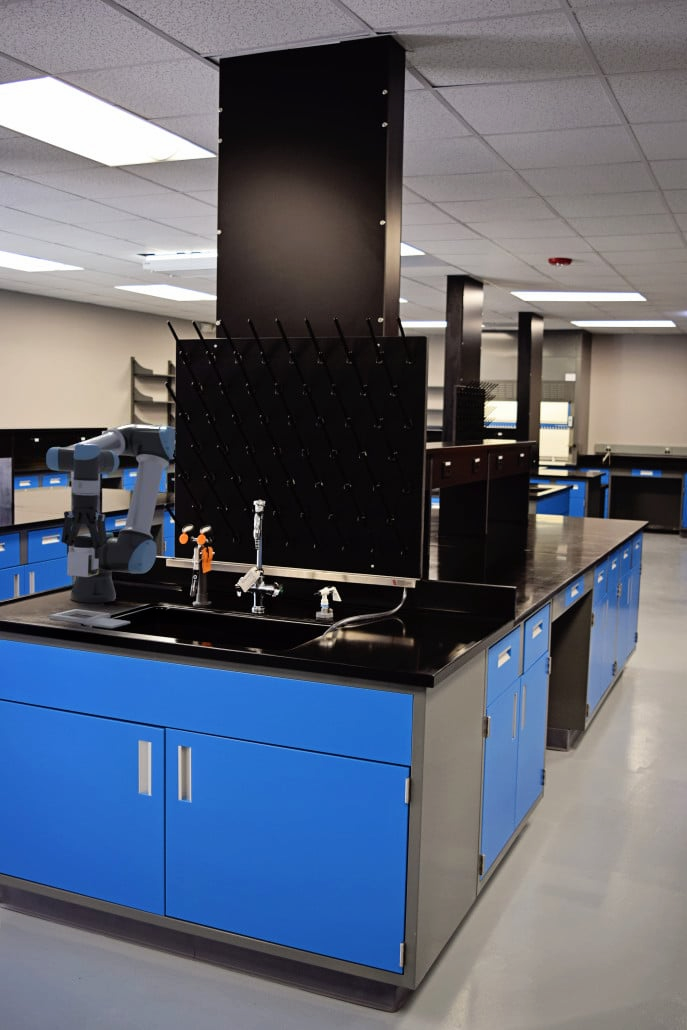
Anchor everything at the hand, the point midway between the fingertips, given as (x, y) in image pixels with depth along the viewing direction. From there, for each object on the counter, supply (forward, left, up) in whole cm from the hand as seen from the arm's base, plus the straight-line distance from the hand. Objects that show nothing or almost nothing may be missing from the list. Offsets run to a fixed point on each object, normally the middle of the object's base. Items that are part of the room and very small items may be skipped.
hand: (83, 567), depth 291 cm
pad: (+3, +12, -16) cm, 20 cm away
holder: (0, 0, -16) cm, 16 cm away
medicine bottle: (0, 0, -2) cm, 2 cm away
